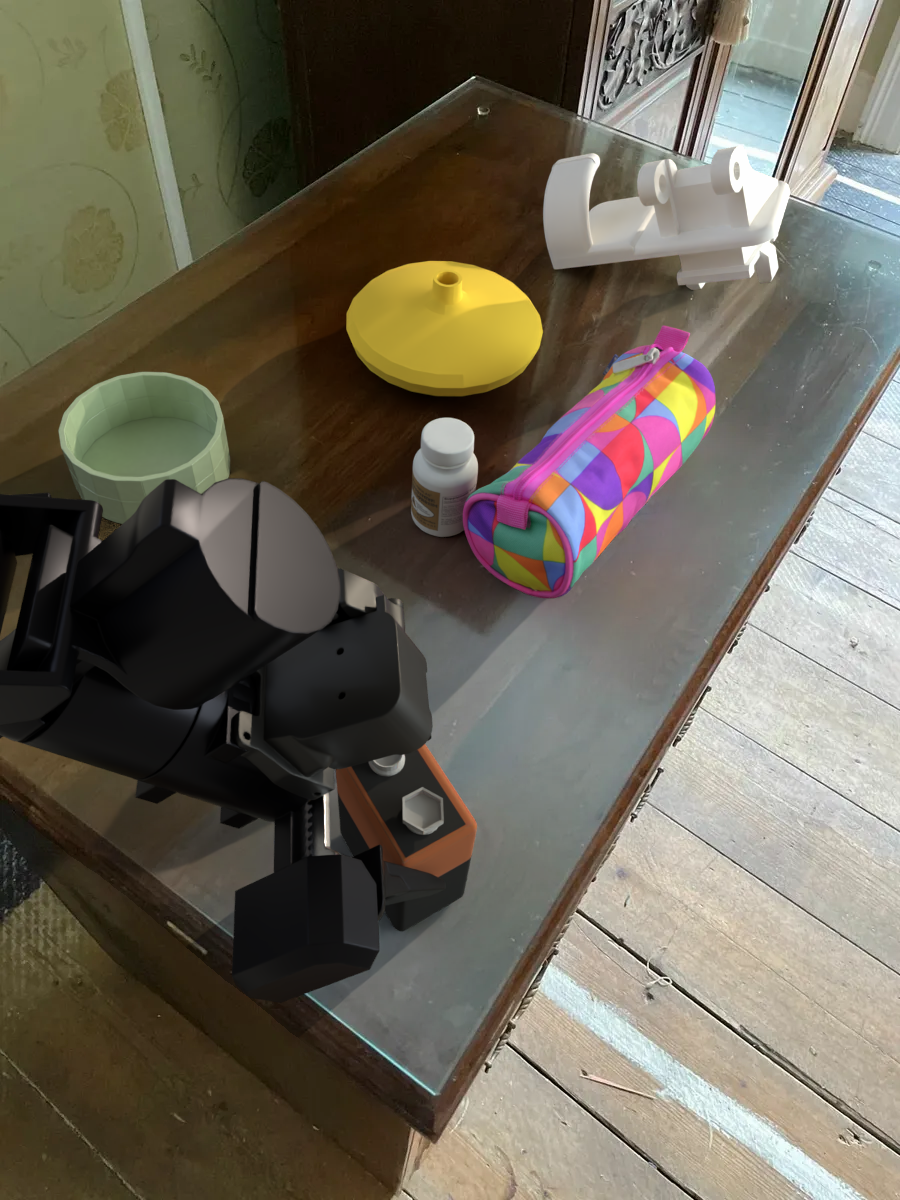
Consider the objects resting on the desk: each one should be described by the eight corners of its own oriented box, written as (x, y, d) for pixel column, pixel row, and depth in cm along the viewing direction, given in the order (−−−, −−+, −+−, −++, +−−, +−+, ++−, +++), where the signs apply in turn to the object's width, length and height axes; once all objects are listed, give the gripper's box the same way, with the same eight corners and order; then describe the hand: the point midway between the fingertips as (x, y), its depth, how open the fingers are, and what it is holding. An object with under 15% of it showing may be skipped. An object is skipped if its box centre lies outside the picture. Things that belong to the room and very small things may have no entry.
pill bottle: (401, 502, 68) (403, 421, 62) (456, 486, 69) (463, 405, 63) (426, 546, 66) (430, 466, 60) (482, 528, 67) (493, 448, 61)
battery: (397, 937, 50) (400, 864, 42) (337, 831, 53) (329, 744, 45) (468, 896, 51) (484, 818, 43) (404, 795, 55) (409, 705, 47)
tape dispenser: (564, 328, 89) (522, 191, 82) (612, 269, 95) (577, 137, 88) (778, 312, 77) (752, 150, 70) (817, 246, 84) (798, 90, 76)
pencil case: (601, 398, 76) (625, 302, 69) (708, 449, 73) (743, 355, 66) (447, 566, 65) (455, 472, 58) (565, 634, 62) (590, 544, 55)
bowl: (85, 541, 64) (68, 495, 61) (68, 434, 70) (51, 386, 67) (244, 508, 67) (237, 462, 63) (214, 407, 73) (206, 360, 69)
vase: (420, 272, 85) (423, 198, 79) (572, 342, 80) (587, 269, 75) (307, 362, 77) (301, 287, 71) (469, 447, 72) (477, 373, 66)
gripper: (300, 876, 28) (602, 960, 37) (299, 430, 39) (532, 586, 49) (85, 976, 33) (398, 1026, 43) (139, 560, 44) (378, 676, 54)
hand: (431, 810), depth 47 cm, fingers closed on battery, 7 cm apart
